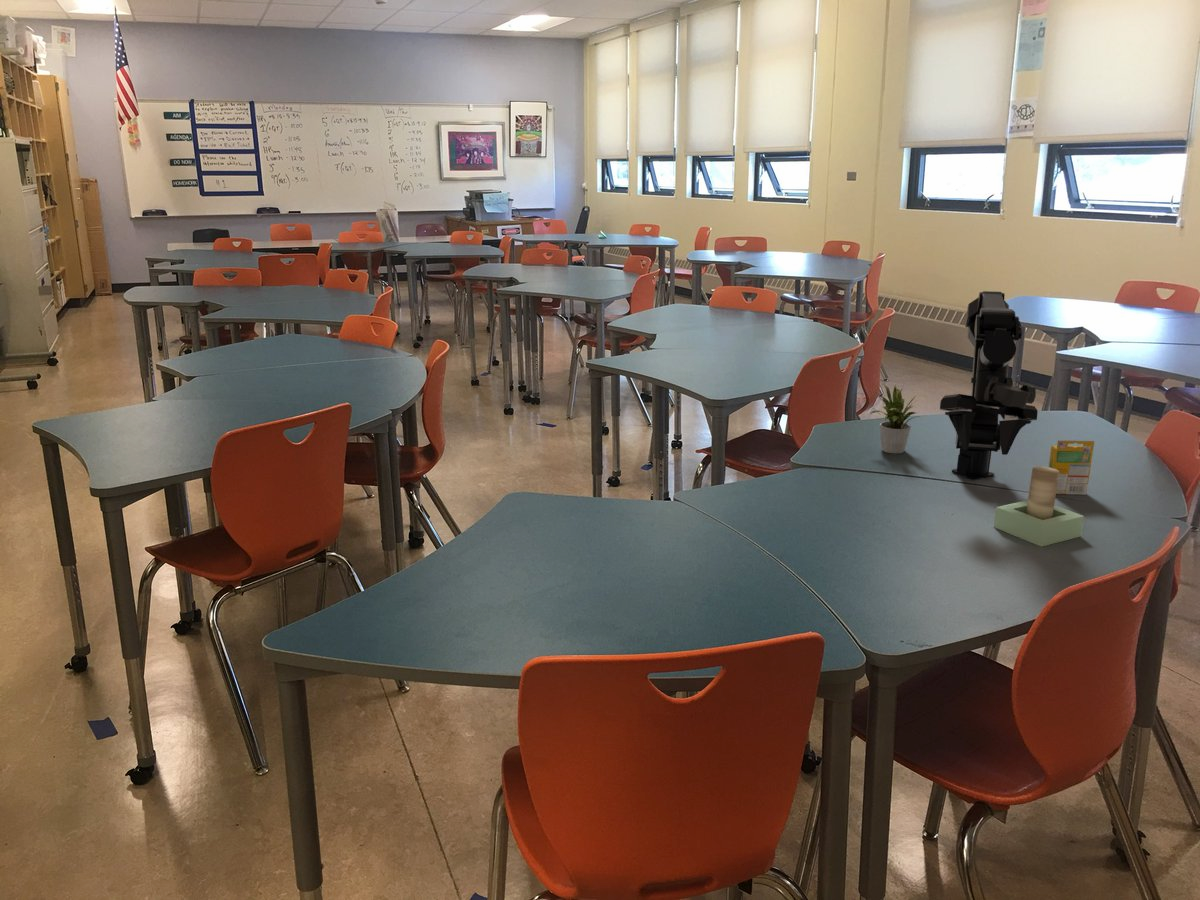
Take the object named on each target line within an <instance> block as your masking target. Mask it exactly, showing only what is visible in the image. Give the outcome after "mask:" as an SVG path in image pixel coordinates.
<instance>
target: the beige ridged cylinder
mask: <svg viewBox="0 0 1200 900" xmlns="http://www.w3.org/2000/svg"><path fill="white" fill-rule="evenodd" d="M1058 477H1059V471H1058V470H1056V469H1054V468H1050V467H1049V466H1034V467H1033V468H1032V469H1031V477H1030V482H1029V483H1030V484H1029V490H1028V498H1027V500H1028V503H1027V510H1026V514H1028V515H1030V516H1033V517H1035V518H1038V519H1041V520H1045V519H1049V518H1052V516H1053V510H1054V505H1055V502H1056V496H1057V494H1056V490H1057V484H1058Z"/></svg>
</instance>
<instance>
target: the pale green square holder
mask: <svg viewBox="0 0 1200 900" xmlns="http://www.w3.org/2000/svg"><path fill="white" fill-rule="evenodd" d="M1027 503H1028V499H1027V500H1022V501H1018V502H1014V503H1013V502H1012V503H1009V504H1004V505H1000V506H996V508H995V516H994V523H993V528H995V529H998V530H1000V531H1003V532H1005V533H1007V534H1009V535H1011V536H1015V537H1017V538H1019V539H1022V540H1023V541H1027V542H1028V543H1030V544H1034V545H1035V546H1038V547H1045V546H1049V545H1052V544H1057V543H1061V542H1065V541H1068V540H1071V539H1077V538H1080V537H1081V536H1082V531H1083V526H1084V525H1083V524H1084V520H1085V515H1082V514H1080V513H1077V512H1074V511H1072V510H1068V509H1066V508H1063V507H1060V506H1058V505H1055V504H1054V510H1053V516H1052V518H1049V519H1045V520H1041V519H1038V518H1035V517H1033V516H1030V515H1028V514H1026V510H1027Z"/></svg>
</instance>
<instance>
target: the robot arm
mask: <svg viewBox="0 0 1200 900" xmlns="http://www.w3.org/2000/svg"><path fill="white" fill-rule="evenodd" d="M964 327H965V328H967V339H968V341H970V343H971V345H972V347H973V348H974V349H973V362H972V374H971V375H972V376H971V380H970V381H971V382H970V383H971V387H970V388H971V391H970V395H969V394H962V393H957V394H956V393H955V394H946V395H944V396H943V397H942V399H941V400H940V403H939V410H940V411H945V412H944V414H945V416H948V418H949V420H950V422H951V423H952V426H953V427H954V430H955V432H956V434H955V449H959V453H958V455H957V456H958V457H957V463H956V468H953V469H951V473H954V474H955V475H959V476H962V477H965V478H966V479H969V480H972V481H973V480H974V481H976V480H980V479H985V478H986V479H987V478H990V477H994V476H995V472H991V471H990V464H991V459H992V458H991V457H992V452H995V453H996V452H998V451H1000V450H1001V455H1004V456H1007V455H1008V454H1009V452H1010V450H1011V447H1012V445H1013V443H1014V442H1015V439H1016V437H1017V435H1018V433H1019V432H1020V431H1021V429H1022V428H1023V427H1025V426H1026V425H1029V424H1031V423H1032V421H1038V414H1039V413H1038V409H1037V407H1036V406H1035V405H1030V404H1033V403H1034V402H1035V399H1036V396H1037V395H1036V393H1037V391H1036V387H1035V386H1032V385H1027V384H1023V385H1021V387H1016V386H1014V385H1013V384H1014V382H1013V381H1014V380H1013V378H1012V377H1008V376H1009V366H1010V365H1009V363H1010V362H1011V361H1012V360H1013V359H1014V357H1015V355H1016V352H1017V346H1016V343H1018V342H1019V340H1020V339H1022V335H1023V333H1022V332H1023V329H1022V323H1021V321H1020V317H1019V316H1016V311H1015V309H1011V308H1010V306H1009V304H1008V302H1006V300H1005V292H1002V291H995V290H994V291H989V290H987V291H986V290H983V291H981V292H979V293H978V297H976V298H975V299H974V300H972V301H971V302H970V303H968V305H967V309H966V314H965V323H964ZM999 415H1000V417H1001V418H1002V420H999Z"/></svg>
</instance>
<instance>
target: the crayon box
mask: <svg viewBox="0 0 1200 900" xmlns="http://www.w3.org/2000/svg"><path fill="white" fill-rule="evenodd" d="M1071 444H1078V445H1071ZM1094 446H1095V440H1057V445H1051V447H1050V455H1049V463H1048V467H1050V468H1054V469H1056V470H1058V471H1059V477H1058V484H1057V490H1056V495H1083V496H1086V495H1087V493H1088V487H1089V480H1090V474H1091V467H1092V458H1093V452H1094Z"/></svg>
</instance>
